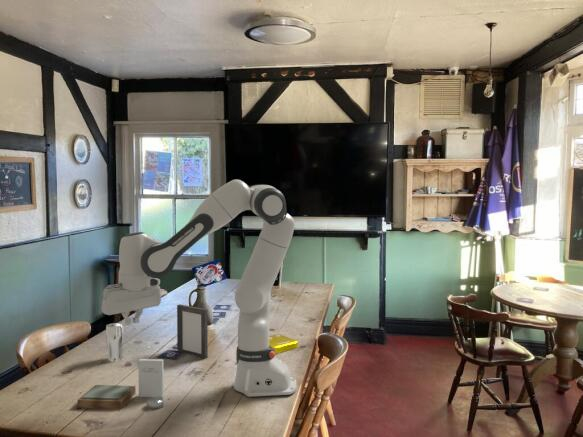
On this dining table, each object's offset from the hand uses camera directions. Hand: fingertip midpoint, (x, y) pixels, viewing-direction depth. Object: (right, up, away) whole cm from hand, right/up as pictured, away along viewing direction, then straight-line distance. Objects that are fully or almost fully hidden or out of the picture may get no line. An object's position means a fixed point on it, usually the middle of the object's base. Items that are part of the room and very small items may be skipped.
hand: (132, 323), depth 158 cm
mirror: (-8, -25, 0) cm, 26 cm away
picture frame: (+11, -24, +43) cm, 50 cm away
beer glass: (-19, -24, +37) cm, 48 cm away
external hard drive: (+5, -25, +3) cm, 26 cm away
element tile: (+46, -24, +54) cm, 74 cm away
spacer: (+9, -26, -4) cm, 27 cm away
